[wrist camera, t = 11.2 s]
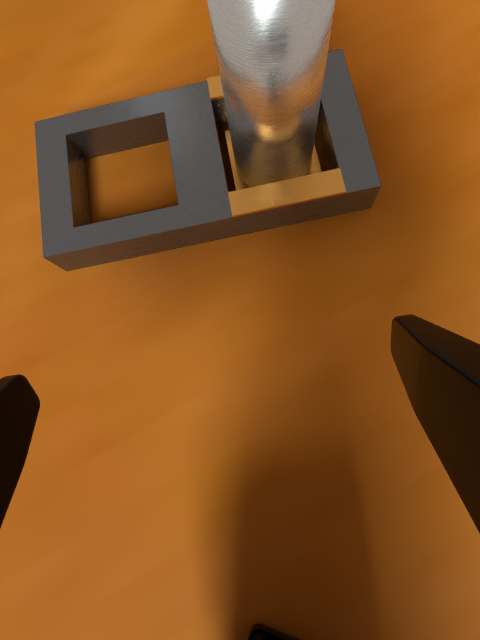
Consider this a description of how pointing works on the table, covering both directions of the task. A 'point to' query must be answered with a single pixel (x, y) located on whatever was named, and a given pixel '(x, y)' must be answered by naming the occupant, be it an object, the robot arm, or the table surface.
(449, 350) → the robot arm
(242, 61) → the steel peg
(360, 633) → the table surface
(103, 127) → the grey flat frame
